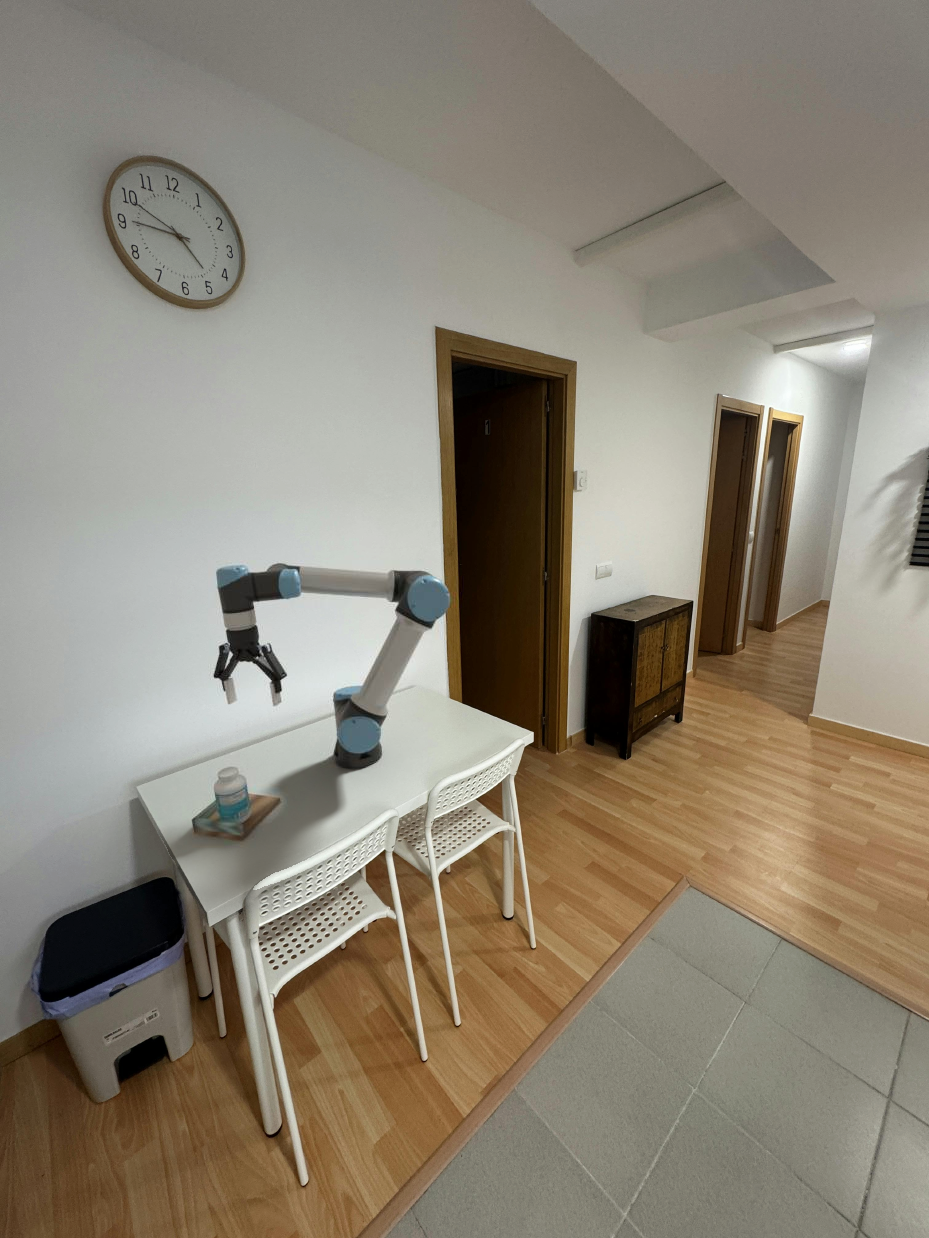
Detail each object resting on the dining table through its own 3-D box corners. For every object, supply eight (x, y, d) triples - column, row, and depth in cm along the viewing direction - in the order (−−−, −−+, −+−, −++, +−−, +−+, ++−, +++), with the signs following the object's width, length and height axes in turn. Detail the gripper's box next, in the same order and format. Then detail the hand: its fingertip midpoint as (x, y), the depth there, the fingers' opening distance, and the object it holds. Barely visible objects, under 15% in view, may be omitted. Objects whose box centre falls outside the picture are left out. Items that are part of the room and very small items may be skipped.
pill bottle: (226, 810, 131) (218, 764, 128) (255, 808, 131) (248, 762, 128) (215, 829, 124) (206, 780, 120) (245, 826, 124) (237, 778, 121)
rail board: (281, 802, 136) (279, 789, 135) (242, 840, 121) (239, 826, 120) (237, 796, 140) (235, 783, 139) (194, 833, 125) (191, 819, 124)
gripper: (293, 622, 128) (304, 698, 134) (209, 622, 134) (223, 695, 139) (276, 630, 121) (289, 710, 127) (189, 630, 127) (204, 707, 132)
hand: (254, 703), depth 133 cm, fingers open, 13 cm apart
